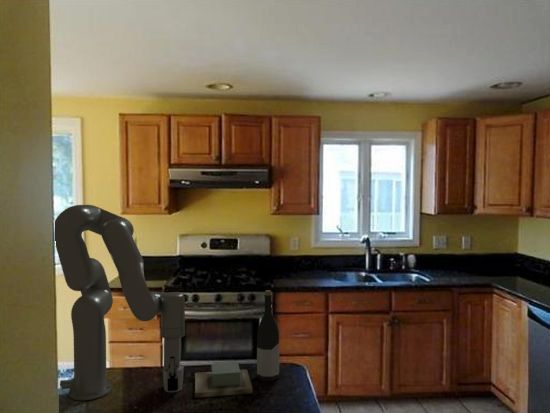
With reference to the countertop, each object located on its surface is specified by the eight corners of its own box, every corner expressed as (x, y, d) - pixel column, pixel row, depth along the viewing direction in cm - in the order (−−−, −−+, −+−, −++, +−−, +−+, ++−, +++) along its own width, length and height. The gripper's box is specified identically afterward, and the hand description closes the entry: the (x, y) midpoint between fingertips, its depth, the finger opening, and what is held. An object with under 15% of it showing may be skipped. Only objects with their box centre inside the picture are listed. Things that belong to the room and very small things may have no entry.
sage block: (212, 386, 140) (212, 374, 140) (211, 375, 149) (211, 363, 149) (240, 384, 142) (240, 372, 142) (237, 373, 150) (237, 362, 150)
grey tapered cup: (185, 384, 146) (185, 363, 146) (182, 393, 139) (182, 371, 139) (165, 384, 146) (165, 363, 145) (160, 393, 139) (160, 371, 139)
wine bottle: (263, 370, 157) (263, 287, 157) (283, 374, 154) (283, 289, 153) (252, 378, 150) (252, 291, 150) (273, 383, 146) (273, 294, 146)
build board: (195, 397, 136) (195, 392, 136) (195, 377, 151) (195, 372, 151) (252, 393, 139) (252, 388, 139) (246, 373, 155) (246, 368, 155)
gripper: (163, 324, 150) (163, 375, 150) (159, 340, 133) (159, 397, 133) (185, 322, 151) (185, 373, 151) (184, 338, 134) (184, 395, 134)
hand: (173, 384), depth 142 cm, fingers open, 7 cm apart
